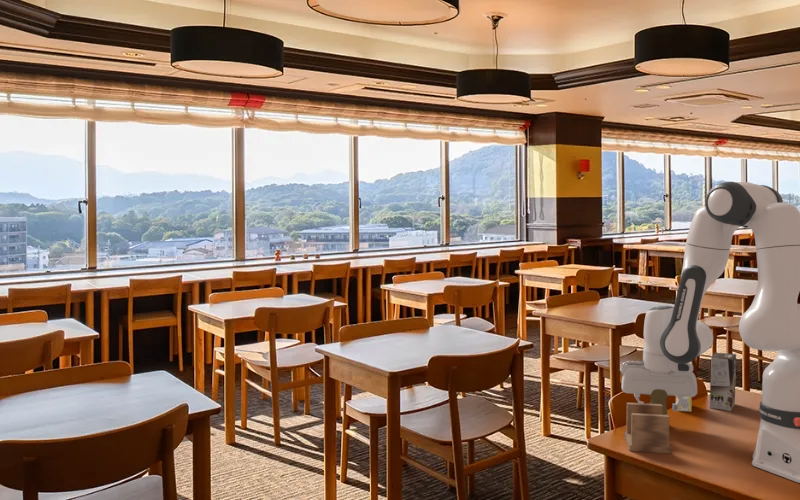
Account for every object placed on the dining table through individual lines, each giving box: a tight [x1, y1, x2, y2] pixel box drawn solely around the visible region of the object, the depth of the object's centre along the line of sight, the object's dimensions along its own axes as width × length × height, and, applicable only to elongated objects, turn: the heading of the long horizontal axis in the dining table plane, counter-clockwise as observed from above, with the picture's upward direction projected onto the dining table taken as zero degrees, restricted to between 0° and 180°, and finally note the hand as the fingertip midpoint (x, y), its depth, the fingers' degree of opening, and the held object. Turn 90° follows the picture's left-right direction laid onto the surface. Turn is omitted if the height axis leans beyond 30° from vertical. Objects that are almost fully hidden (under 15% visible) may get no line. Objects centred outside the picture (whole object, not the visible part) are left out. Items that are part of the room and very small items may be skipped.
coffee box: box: [709, 352, 737, 412], centre depth 210 cm, size 9×6×16 cm
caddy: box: [623, 402, 672, 454], centre depth 177 cm, size 10×11×10 cm
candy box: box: [675, 361, 693, 413], centre depth 209 cm, size 9×4×15 cm, turn 162°
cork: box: [648, 389, 669, 415], centre depth 192 cm, size 6×6×11 cm
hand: (658, 409), depth 193 cm, fingers open, 8 cm apart
